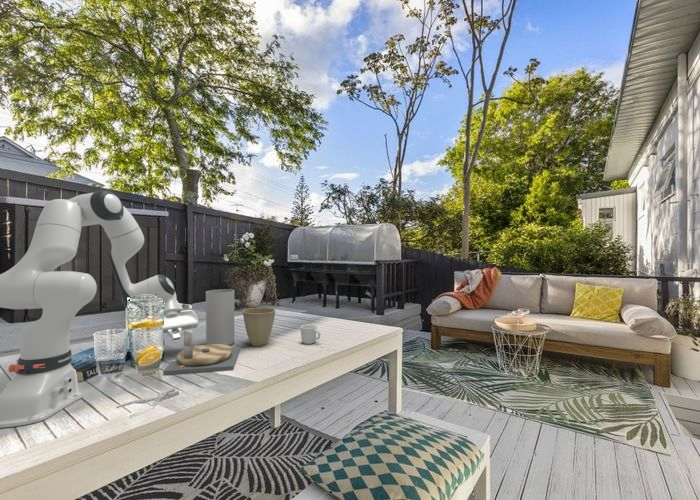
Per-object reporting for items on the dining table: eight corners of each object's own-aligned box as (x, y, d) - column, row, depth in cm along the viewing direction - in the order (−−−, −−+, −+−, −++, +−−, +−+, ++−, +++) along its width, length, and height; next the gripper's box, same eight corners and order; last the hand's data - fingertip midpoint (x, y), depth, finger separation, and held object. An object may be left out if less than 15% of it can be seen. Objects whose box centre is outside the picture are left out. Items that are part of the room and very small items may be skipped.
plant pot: (264, 350, 150) (263, 314, 149) (236, 346, 155) (236, 312, 154) (281, 340, 164) (281, 308, 164) (255, 338, 169) (255, 306, 168)
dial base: (233, 369, 126) (233, 365, 126) (163, 375, 121) (163, 370, 121) (239, 350, 150) (239, 346, 150) (181, 353, 144) (181, 349, 144)
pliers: (116, 403, 97) (168, 385, 110) (116, 408, 97) (168, 390, 110) (131, 413, 92) (184, 393, 104) (131, 419, 92) (184, 398, 104)
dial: (208, 346, 149) (208, 319, 148) (242, 352, 140) (242, 324, 140) (166, 360, 131) (165, 329, 130) (202, 368, 122) (202, 335, 122)
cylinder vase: (221, 338, 168) (220, 288, 167) (240, 341, 162) (239, 290, 162) (200, 345, 156) (199, 292, 156) (219, 349, 151) (219, 293, 150)
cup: (325, 342, 161) (325, 326, 161) (314, 347, 154) (314, 329, 154) (307, 339, 167) (307, 323, 167) (296, 343, 160) (296, 326, 160)
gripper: (142, 310, 137) (149, 339, 130) (195, 304, 151) (203, 330, 144) (140, 319, 140) (146, 348, 133) (191, 313, 154) (199, 338, 147)
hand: (176, 339), depth 139 cm, fingers closed
